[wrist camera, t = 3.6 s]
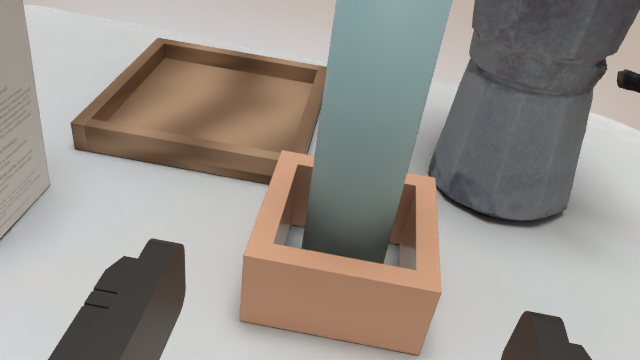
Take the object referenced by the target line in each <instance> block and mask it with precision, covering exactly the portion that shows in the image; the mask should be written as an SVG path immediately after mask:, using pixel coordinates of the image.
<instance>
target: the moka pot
mask: <svg viewBox="0 0 640 360" xmlns="http://www.w3.org/2000/svg"><path fill="white" fill-rule="evenodd" d="M639 10H640V0H475V4H474V11H473V21H472V28H474V32H473V37H472V41H471V46H470V51H469V54H470V57H471V59H470V61H469V63H468V65H467V68H466V70H465V73H464V75H463V77H462V80H461V82H460V85H459V87H458V90H457V93H456V96H455V98H454V101H453V104H452V107H451V109H450V112H449V115H448V117H447V120H446V123H445V125H444V128H443V130H442V132H441V135H440V138H439V140H438V143H437V146H436V148H435V151H434V154H433V157H432V160H431V163H430V166H429V172H430V175H431V177H434V178H435V182H436V185H437V186H438V188H439V189H440V190H442V191H443V192H444V193H445V194H446V195H447V196H448V197H450V198H451V199H453V200H454V201H455V202H458V203H461V204H463V205H465V206H467V207H470V208H472V209H474V210H476V211H478V212H480V213H482V214H486V215H490V216H493V217H498V218H503V219H509V220H521V221H524V220H536V219H544V218H547V217H549V216H552V215H555V214H557V213H559V212H561V211H563V210H566V208H567V204H568V201H569V197H570V193H571V189H572V185H573V180H574V176H575V171H576V166H577V162H578V158H579V154H580V150H581V145H582V141H583V138H584V135H585V131H586V125H587V120H588V116H589V111H590V107H591V103H592V99H593V98H592V97H593V88H594V86H595V85H596V83H597V82H598V80H600V79H601V78H602V76H603V75H604V74H605V72H606V70H607V64H606V59H605V58H606V57H607V56H609V55H613V54H614V53H616V52H617V51H618V49H619V47H620V45H621V43H622V42H623V40H624V38H625V36H626V34H627V32H628V30H629V28H630V26H631V25H632V23H633V22H634V20H635V18H636V16H637V14H638V12H639ZM617 84H618V87H620V88H623V89H626V90H632V91H636V92H638V93H640V74H637V73H635V72H632V71H629V70H626V69H625V70H624V71H619V72H618V76H617Z"/></svg>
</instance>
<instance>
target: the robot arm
mask: <svg viewBox="0 0 640 360" xmlns="http://www.w3.org/2000/svg"><path fill="white" fill-rule="evenodd" d="M185 287H186V286H185V252H184V246H183V244H179V243H173V242H168V241H163V240H158V239H150V240H149V241H148V242H147V244H146V246H145V247H144V249H143V251H142V252H141V254H140V256H139V258H138V259H137V258H132V257H126V256H123V257H122V258H121V259H119V260H118V261H117V262H116V263H114V264H113V265H112V266H110V267H109V268H108V269H106V270H105V271H104V273H103V275H102V276H101V278H100V279H99V281H98V282H97V284H96V285H95V287H94V290H93V292H91V293H90V295H89V296H88V298H87V300H86V301H85V304H84V306H82V307H81V309H80V310H79V312H78V314H77V315H76V317H75V318H74V320H73V321H72V323H71V324H70V326H69V328H68V329H67V331H66V332H65V334H64V335H63V337H62V339H61V340H60V342H59V343H58V345H57V346H56V348H55V349H54V351H53V353H52V354H51V356H50V357H49V359H48V360H159V359H160V357H161V355H162V352H163V350H164V348H165V346H166V344H167V341H168V339H169V337H170V335H171V332H172V330H173V328H174V326H175V323H176V321H177V319H178V317H179V314H180V312H181V309H182V306H183V302H184V297H185ZM501 360H592V359H591V358H590V356H589V355H588V353H587V352H586V351H585V349H584V348H583V347H582V345H578V344H573V343H569V340H568V337H567V333H566V329H565V326H564V323H563V321H562V319H561V318H560V317H556V316H551V315H546V314H540V313H535V312H530V311H525V312H524V313H523V314H522V316H521V318H520V319H519V321H518V323H517V325H516V327H515V329H514V331H513V333H512V335H511V337H510V339H509V341H508V343H507V345H506V347H505V349H504V351H503V354H502V358H501Z"/></svg>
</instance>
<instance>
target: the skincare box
mask: <svg viewBox="0 0 640 360" xmlns="http://www.w3.org/2000/svg"><path fill="white" fill-rule="evenodd" d="M49 185H50V180H49V174H48V168H47V161H46V155H45V148H44V141H43V134H42V127H41V120H40V113H39V107H38V100H37V94H36V87H35V80H34V73H33V66H32V59H31V52H30V45H29V38H28V32H27V26H26V19H25V13H24V6H23V0H0V238H1V237H2V236H3V235H4V234H5V233H6V232H7V231H8V230H9V228H10V227H11V226H12V225H13V224H14V223H15V222H16V221H17V220H18V219H19V218H20V217H21V216H22V215H23V214H24V212H25V211H26V210H27V209H28V208H29V207H30V206H31V205H32V204H33V203H34V202H35V201H36V200H37V199H38V198H39V197H40V196H41V194H42V193H43V192H44V191H45V190H46V189H47V188H48V187H49Z"/></svg>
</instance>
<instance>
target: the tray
mask: <svg viewBox="0 0 640 360" xmlns="http://www.w3.org/2000/svg"><path fill="white" fill-rule="evenodd" d="M326 71H327V67H324V66H318V65H312V64H306V63H300V62H295V61H289V60H283V59H277V58H271V57H266V56H260V55H254V54H248V53H243V52H237V51H231V50H225V49H219V48H214V47H208V46H202V45H196V44H191V43H185V42H179V41H173V40H167V39H162V38H157V39H156V40H155V41H154V42H153V43H152V44H151V45H150V46H149V47H148V48H147V49H146V50H145V51H144V52H143V53H142V54H141V55H140V56H139V57H138V58H137V59H136V60H135V61H134V62H133V63H132V64H131V65H130V66H129V67H128V68H127V69H125V70H124V71H123V72H122V73H121V74H120V75H119V76H118V77H117V78H116V79H115V80H114V81H113V82H112V83H111V84H110V85H109V86H108V87H107V88H106V89H105V90H104V91H103V92H102V93H101V94H100V95H99V96H98V97H97V98H96V99H95V100H94V101H93V102H92V103H91V104H90V105H89V106H88V107H86V108H85V109H84V110H83V111H82V112H81V113H80V114H79V115H78V116H77V117H76V118H75V119H74V120H73V121H72V122H71V128H72V134H73V140H74V146H75V149H79V150H85V151H90V152H96V153H101V154H107V155H112V156H117V157H123V158H128V159H134V160H139V161H145V162H150V163H156V164H161V165H167V166H172V167H178V168H183V169H189V170H194V171H200V172H205V173H211V174H216V175H222V176H227V177H232V178H238V179H243V180H249V181H254V182H260V183H265V184H270V182H271V179H272V176H273V173H274V171H275V168H276V165H277V162H278V160H279V157H280V154H281V151H282V150H284V151H289V152H295V153H300V154H306V155H307V153H308V150H309V146H310V143H311V140H312V136H313V133H314V129H315V126H316V123H317V119H318V116H319V112H320V109H321V105H322V100H323V92H324V85H325V78H326Z"/></svg>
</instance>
